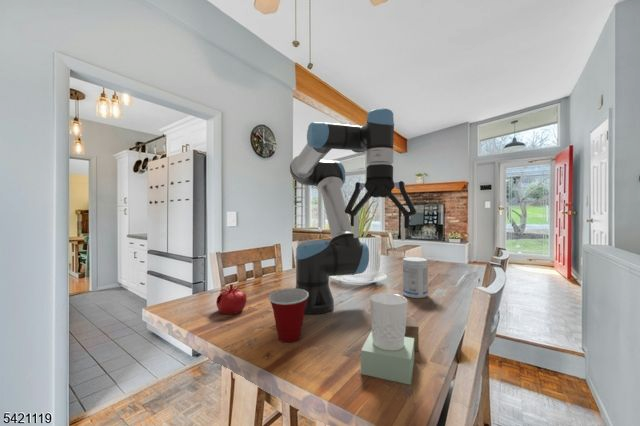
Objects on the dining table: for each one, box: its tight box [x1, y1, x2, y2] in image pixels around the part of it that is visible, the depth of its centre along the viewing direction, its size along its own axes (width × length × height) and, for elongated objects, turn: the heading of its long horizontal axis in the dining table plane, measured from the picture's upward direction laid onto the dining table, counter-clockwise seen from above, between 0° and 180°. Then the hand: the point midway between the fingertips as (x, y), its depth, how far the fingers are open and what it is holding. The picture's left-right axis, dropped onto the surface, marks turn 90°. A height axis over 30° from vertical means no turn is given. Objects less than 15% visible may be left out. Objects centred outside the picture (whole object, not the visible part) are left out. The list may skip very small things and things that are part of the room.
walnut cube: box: [405, 316, 420, 352], centre depth 73 cm, size 6×6×6 cm
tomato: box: [215, 283, 248, 315], centre depth 97 cm, size 10×10×9 cm
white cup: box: [369, 292, 408, 351], centre depth 62 cm, size 8×8×10 cm
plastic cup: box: [268, 287, 309, 343], centre depth 76 cm, size 11×11×12 cm
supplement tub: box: [402, 256, 429, 299], centre depth 114 cm, size 10×10×15 cm
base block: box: [360, 330, 415, 386], centre depth 62 cm, size 10×10×5 cm
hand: (378, 238), depth 82 cm, fingers open, 13 cm apart
